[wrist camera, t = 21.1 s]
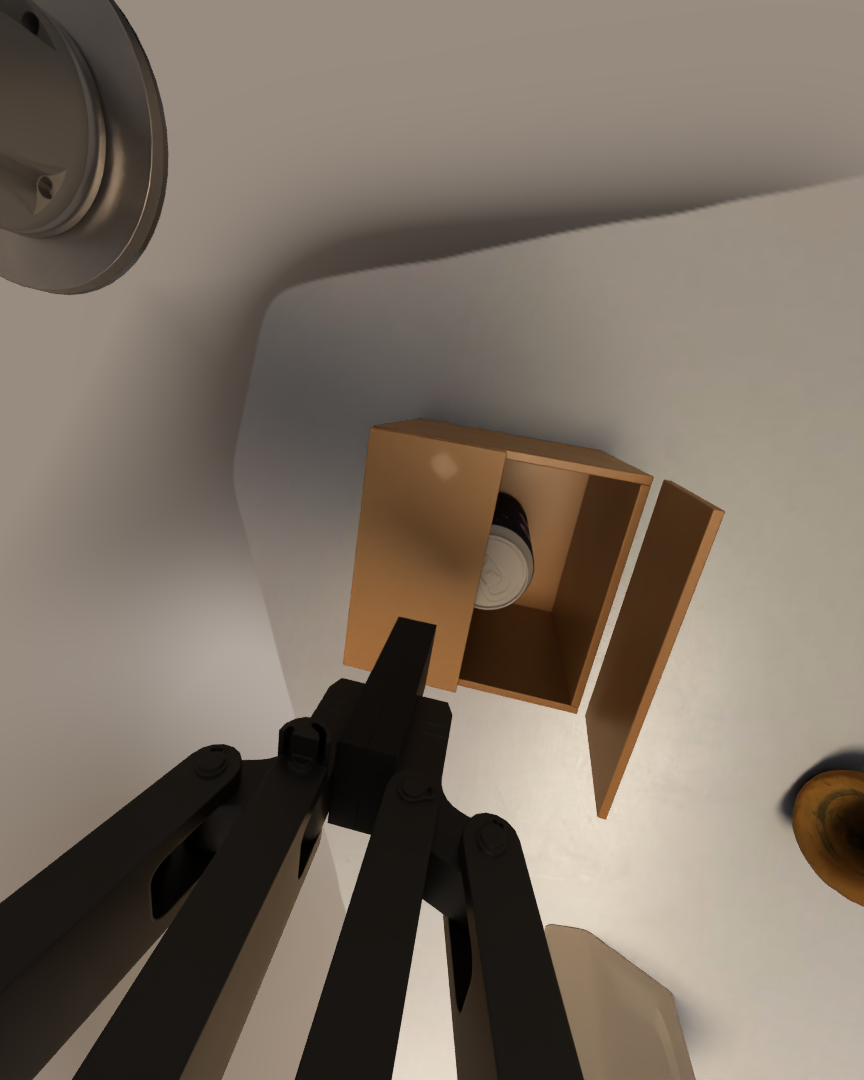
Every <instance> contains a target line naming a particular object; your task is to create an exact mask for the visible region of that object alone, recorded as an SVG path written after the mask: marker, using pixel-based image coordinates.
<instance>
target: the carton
mask: <svg viewBox="0 0 864 1080" xmlns="http://www.w3.org/2000/svg"><path fill="white" fill-rule="evenodd" d="M373 427H375V428H381V429H386V430H392V431H397V432H403V433H408V434H413V435H419V436H424V437H430V438H435V439H441V440H446V441H452V442H457V443H462V444H468V445H473V446H479V447H484V448H490V449H495V450H500V451H506V452H507V456H506V460H505V465H504V470H503V474H502V479H501V483H500V488H499V493H503V494H506V495H508V496H510V497H512V498H514V499H515V500H516V501H517V502H518V503H519V504H520V505H521V506H522V507H523V509H524V511H525V513H526V516H527V520H528V526H529V532H530V538H531V545H532V551H533V557H534V574H533V578H532V580H531V583H530V585H529V586H528V588H527V589H526V591H525V592H524V593H523V594H522V595H521V596H520V597H519V598H518V599H517V600H516V601H514V602H513V603H512V604H510V605H508V606H506V607H503V608H500V609H495V610H484V609H479V608H475V607H474V609H473V614H472V619H471V623H470V628H469V633H468V637H467V642H466V647H465V651H464V656H463V660H462V665H461V670H460V674H459V679H458V684H457V685H460V686H464V687H468V688H472V689H476V690H480V691H484V692H489V693H493V694H497V695H501V696H505V697H509V698H513V699H517V700H522V701H526V702H530V703H534V704H538V705H542V706H546V707H550V708H555V709H559V710H563V711H567V712H571V713H575V714H577V711H578V708H579V705H580V702H581V699H582V696H583V693H584V690H585V687H586V683H587V680H588V677H589V674H590V671H591V668H592V665H593V662H594V659H595V656H596V653H597V650H598V647H599V644H600V640H601V637H602V634H603V631H604V628H605V625H606V622H607V619H608V616H609V613H610V610H611V607H612V604H613V601H614V597H615V594H616V591H617V588H618V585H619V582H620V579H621V576H622V573H623V570H624V567H625V564H626V561H627V558H628V554H629V551H630V548H631V545H632V542H633V539H634V536H635V533H636V530H637V527H638V524H639V521H640V518H641V515H642V511H643V508H644V505H645V502H646V499H647V496H648V493H649V490H650V486H651V484H652V481H653V478H654V477H653V476H651V475H649V474H647V473H645V472H643V471H641V470H639V469H637V468H635V467H633V466H631V465H629V464H627V463H625V462H623V461H621V460H619V459H617V458H615V457H613V456H611V455H609V454H607V453H605V452H603V451H601V450H595V449H590V448H584V447H578V446H573V445H567V444H562V443H556V442H550V441H545V440H539V439H534V438H528V437H522V436H517V435H511V434H506V433H500V432H494V431H489V430H483V429H478V428H472V427H466V426H461V425H455V424H450V423H444V422H438V421H433V420H427V419H422V418H419V419H412V420H406V421H400V422H393V423H387V424H380V425H374V426H373ZM724 513H725V511H724V510H722V509H720V508H718V507H717V506H715V505H713V504H711V503H709V502H708V501H706V500H704V499H702V498H701V497H699V496H697V495H695V494H694V493H692V492H690V491H688V490H687V489H685V488H683V487H681V486H679V485H678V484H676V483H674V482H672V481H669V480H664V481H663V484H662V487H661V490H660V493H659V496H658V499H657V502H656V505H655V508H654V511H653V514H652V517H651V520H650V523H649V526H648V529H647V532H646V535H645V538H644V541H643V544H642V547H641V550H640V553H639V556H638V559H637V562H636V565H635V568H634V571H633V574H632V577H631V580H630V583H629V586H628V589H627V592H626V595H625V598H624V601H623V604H622V607H621V610H620V613H619V616H618V619H617V622H616V625H615V628H614V631H613V634H612V637H611V640H610V643H609V646H608V649H607V652H606V655H605V658H604V661H603V664H602V667H601V670H600V673H599V676H598V679H597V682H596V685H595V688H594V691H593V694H592V697H591V700H590V703H589V706H588V709H587V712H586V715H585V717H586V725H587V734H588V742H589V750H590V759H591V767H592V775H593V784H594V792H595V800H596V809H597V816H598V817H599V818H602V819H606V818H607V815H608V813H609V810H610V808H611V805H612V802H613V800H614V797H615V795H616V792H617V789H618V787H619V784H620V782H621V779H622V777H623V774H624V771H625V769H626V766H627V764H628V761H629V758H630V756H631V753H632V751H633V748H634V746H635V743H636V740H637V738H638V735H639V733H640V730H641V728H642V725H643V722H644V720H645V717H646V715H647V712H648V709H649V707H650V704H651V702H652V699H653V697H654V694H655V691H656V689H657V686H658V684H659V681H660V679H661V676H662V673H663V671H664V668H665V666H666V663H667V660H668V658H669V655H670V653H671V650H672V648H673V645H674V642H675V640H676V637H677V635H678V632H679V629H680V627H681V624H682V622H683V619H684V617H685V614H686V611H687V609H688V606H689V604H690V601H691V599H692V596H693V593H694V591H695V588H696V586H697V583H698V580H699V578H700V575H701V573H702V570H703V568H704V565H705V562H706V560H707V557H708V555H709V552H710V550H711V547H712V544H713V542H714V539H715V537H716V534H717V531H718V529H719V526H720V524H721V521H722V519H723V516H724Z"/></svg>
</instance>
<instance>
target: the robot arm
mask: <svg viewBox="0 0 864 1080" xmlns="http://www.w3.org/2000/svg"><path fill="white" fill-rule="evenodd" d="M105 155H106V133H105V123H104V117H103V110H102V106H101V102H100V98H99V94H98V91H97V88H96V85H95V82H94V80H93V77H92V74H91V72H90V70H89V68H88V66H87V63H86V61H85V60H84V58H83V56H82V54H81V52H80V51H79V49H78V48H77V46H76V45H75V43H74V41H73V40H72V39H71V37H70V36H69V35H68V34H67V32H66V31H65V30H64V29H63V28H62V27H61V25H60V24H59V23H58V22H57V21H56V20H55V19H53V18H52V17H51V16H50V15H49V14H48V13H47V12H46V11H44V10H43V9H42V8H41V7H40V6H39V5H37V4H36V3H35V2H34V1H33V0H0V228H2V229H5V230H7V231H10V232H13V233H16V234H19V235H22V236H27V237H33V238H46V237H52V236H55V235H58V234H61V233H63V232H65V231H67V230H69V229H70V228H72V227H73V226H74V225H75V224H77V223H78V222H79V221H80V220H81V219H82V218H83V216H84V215H85V214H86V213H87V211H88V210H89V208H90V207H91V205H92V203H93V201H94V199H95V197H96V195H97V192H98V190H99V187H100V183H101V180H102V176H103V171H104V165H105ZM436 627H437V625H435V624H430V623H426V622H422V621H417V620H413V619H408V618H404V617H398V619H397V621H396V623H395V625H394V627H393V629H392V631H391V633H390V635H389V637H388V639H387V641H386V643H385V645H384V647H383V649H382V651H381V653H380V655H379V657H378V659H377V661H376V663H375V665H374V667H373V669H372V671H371V673H370V675H369V678H368V680H367V682H366V684H364V683H360V682H356V681H352V680H348V679H344V678H341V679H340V680H338V681H337V682H335V683H334V684H332V685H331V686H330V687H329V688H328V690H327V692H326V693H325V695H324V697H323V699H322V700H321V702H320V703H319V705H318V706H317V709H316V710H315V711H314V713H313V715H312V716H311V718H310V717H303V718H297V719H294V720H292V721H290V722H288V723H286V724H285V725H284V726H283V727H282V728H281V729H280V730H279V743H278V756H277V757H273V758H270V759H262V760H242V759H241V755H240V753H239V752H238V751H237V750H236V749H235V748H234V747H231V746H228V745H224V744H219V745H210V746H207V747H203V748H201V749H199V750H198V751H196V752H194V753H192V754H191V755H190V756H188V757H187V758H186V759H185V760H183V761H182V762H181V763H179V764H178V765H177V766H176V767H174V768H173V769H172V770H171V771H169V772H168V773H167V774H165V775H164V776H163V777H162V778H160V779H159V780H158V781H157V782H155V783H154V784H153V785H151V786H150V787H149V788H148V789H146V790H145V791H144V792H142V793H141V794H140V795H138V796H137V797H136V798H135V799H133V800H132V801H131V802H130V803H128V804H127V805H126V806H124V807H123V808H122V809H121V810H119V811H118V812H117V813H115V814H114V815H113V816H112V817H110V818H109V819H108V820H107V821H105V822H104V823H103V824H101V825H100V826H99V827H97V828H96V829H95V830H94V831H92V832H91V833H90V834H88V835H87V836H86V837H85V838H83V839H82V840H81V841H79V842H78V843H77V844H76V845H74V846H73V847H72V848H70V850H68V851H67V852H66V853H64V854H63V855H62V856H60V857H59V858H58V859H57V860H55V861H54V862H53V863H51V864H50V865H49V866H48V867H46V868H45V869H44V870H43V871H41V872H40V873H38V874H37V875H36V876H35V877H33V878H32V879H31V880H29V881H28V882H27V883H26V884H24V885H23V886H22V887H20V888H19V889H18V890H17V891H15V892H14V893H13V894H12V895H10V896H9V897H8V898H6V899H5V900H4V901H3V902H1V903H0V1080H33V1078H34V1077H35V1076H36V1075H37V1074H38V1073H39V1072H40V1071H41V1069H42V1068H43V1067H44V1066H45V1065H46V1064H47V1063H48V1062H49V1060H50V1059H51V1058H52V1057H53V1056H54V1055H55V1054H56V1053H57V1051H58V1050H59V1049H60V1048H61V1047H62V1046H63V1045H64V1044H65V1043H66V1041H67V1040H68V1039H69V1038H70V1037H71V1036H72V1034H73V1033H74V1032H75V1031H76V1030H77V1029H78V1028H79V1027H80V1026H81V1024H82V1023H83V1022H84V1021H85V1020H86V1019H87V1018H88V1017H89V1016H90V1014H91V1013H92V1012H93V1011H94V1010H95V1009H96V1008H97V1006H98V1005H99V1004H100V1003H101V1002H102V1001H103V1000H104V999H105V998H106V997H107V995H108V994H109V993H110V992H111V991H112V990H113V989H114V987H115V986H116V985H117V984H118V983H119V982H120V981H121V980H122V979H123V977H124V976H125V975H126V974H127V973H128V972H129V971H130V970H131V968H132V967H133V966H134V965H135V964H136V963H137V961H139V959H140V958H141V957H142V956H143V955H144V954H145V953H146V952H147V950H148V949H149V948H150V947H151V946H152V945H153V944H154V943H155V941H156V940H157V939H158V938H159V937H160V936H161V935H162V934H163V933H164V931H165V930H166V929H167V928H168V927H169V928H168V929H167V931H166V932H165V934H164V936H163V937H162V939H161V940H160V942H159V943H158V945H157V947H156V948H155V950H154V951H153V953H152V954H151V956H150V958H149V959H148V961H147V962H146V964H145V965H144V967H143V969H142V970H141V972H140V973H139V975H138V977H137V978H136V980H135V981H134V983H133V984H132V986H131V987H130V989H129V991H128V992H127V994H126V995H125V997H124V998H123V1000H122V1002H121V1003H120V1005H119V1006H118V1008H117V1009H116V1011H115V1013H114V1014H113V1016H112V1017H111V1019H110V1021H109V1022H108V1024H107V1025H106V1027H105V1028H104V1030H103V1031H102V1033H101V1035H100V1036H99V1038H98V1039H97V1041H96V1043H95V1044H94V1046H93V1047H92V1049H91V1050H90V1052H89V1053H88V1055H87V1057H86V1058H85V1060H84V1061H83V1063H82V1064H81V1066H80V1068H79V1069H78V1071H77V1072H76V1074H75V1076H74V1077H73V1079H72V1080H221V1079H222V1077H223V1075H224V1072H225V1070H226V1067H227V1065H228V1062H229V1060H230V1058H231V1055H232V1053H233V1051H234V1048H235V1046H236V1043H237V1041H238V1038H239V1036H240V1033H241V1031H242V1029H243V1026H244V1024H245V1022H246V1019H247V1017H248V1014H249V1012H250V1010H251V1007H252V1004H253V1002H254V1000H255V998H256V995H257V993H258V990H259V988H260V985H261V983H262V981H263V978H264V976H265V973H266V971H267V969H268V966H269V964H270V962H271V959H272V957H273V954H274V952H275V950H276V947H277V944H278V942H279V940H280V937H281V935H282V933H283V930H284V928H285V925H286V923H287V920H288V918H289V916H290V913H291V911H292V909H293V906H294V903H295V901H296V899H297V896H298V894H299V892H300V889H301V887H302V885H303V882H304V880H305V877H306V875H307V873H308V870H309V868H310V865H311V863H312V861H313V858H314V856H315V853H316V851H317V848H318V846H319V843H320V839H321V832H322V826H323V824H324V821H325V819H326V817H327V814H328V812H329V816H328V823H330V824H334V825H337V826H341V827H344V828H348V829H352V830H355V831H359V832H362V833H366V834H370V835H371V837H370V840H369V843H368V846H367V850H366V853H365V856H364V859H363V862H362V866H361V869H360V872H359V875H358V878H357V882H356V885H355V888H354V891H353V894H352V898H351V901H350V904H349V907H348V910H347V914H346V917H345V920H344V923H343V926H342V930H341V933H340V936H339V940H338V942H337V946H336V949H335V952H334V955H333V959H332V962H331V965H330V968H329V972H328V975H327V978H326V981H325V984H324V987H323V991H322V994H321V997H320V1000H319V1003H318V1007H317V1010H316V1013H315V1017H314V1020H313V1023H312V1026H311V1029H310V1032H309V1035H308V1039H307V1042H306V1045H305V1048H304V1051H303V1055H302V1058H301V1061H300V1064H299V1068H298V1071H297V1074H296V1078H295V1080H391V1079H392V1074H393V1068H394V1062H395V1056H396V1050H397V1044H398V1038H399V1032H400V1026H401V1021H402V1015H403V1009H404V1003H405V997H406V991H407V985H408V979H409V973H410V967H411V962H412V956H413V950H414V944H415V938H416V932H417V926H418V920H419V914H420V909H421V903H422V899H423V900H425V901H426V902H428V903H429V904H430V905H432V906H433V907H434V908H436V909H437V910H438V911H440V912H441V913H442V914H443V919H444V931H445V942H446V953H447V965H448V976H449V987H450V999H451V1010H452V1022H453V1033H454V1044H455V1056H456V1067H457V1078H458V1080H584V1077H583V1074H582V1070H581V1066H580V1062H579V1059H578V1055H577V1051H576V1048H575V1044H574V1040H573V1036H572V1033H571V1029H570V1025H569V1022H568V1018H567V1014H566V1010H565V1007H564V1003H563V999H562V996H561V992H560V988H559V984H558V981H557V977H556V973H555V970H554V966H553V962H552V958H551V955H550V951H549V947H548V944H547V940H546V936H545V932H544V929H543V925H542V921H541V918H540V914H539V910H538V906H537V903H536V899H535V895H534V892H533V888H532V884H531V880H530V877H529V873H528V869H527V866H526V862H525V858H524V854H523V851H522V847H521V843H520V840H519V838H518V836H517V834H516V831H515V830H514V829H513V828H512V826H511V825H510V824H509V823H508V822H507V821H506V820H504V819H502V818H501V817H499V816H497V815H494V814H489V813H481V814H476V815H474V816H473V817H471V818H470V817H468V816H466V815H465V814H463V813H462V812H460V811H459V810H457V809H456V808H455V807H453V806H452V805H451V804H450V802H449V801H448V800H447V799H446V797H445V795H444V793H443V789H442V786H441V785H442V774H443V768H444V762H445V756H446V750H447V744H448V738H449V732H450V726H451V720H452V713H451V710H450V707H449V705H448V703H447V702H443V701H439V700H435V699H431V698H427V697H422V696H423V692H424V689H425V685H426V680H427V675H428V669H429V664H430V659H431V653H432V648H433V643H434V637H435V632H436Z"/></svg>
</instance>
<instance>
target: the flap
mask: <svg viewBox="0 0 864 1080" xmlns="http://www.w3.org/2000/svg"><path fill="white" fill-rule="evenodd" d="M506 456H507V452H506V451H500V450H495V449H490V448H484V447H479V446H473V445H468V444H462V443H457V442H452V441H446V440H441V439H435V438H430V437H424V436H419V435H413V434H408V433H403V432H397V431H392V430H386V429H381V428H375V427H370V433H369V441H368V450H367V459H366V468H365V476H364V485H363V494H362V503H361V511H360V520H359V529H358V538H357V546H356V555H355V564H354V573H353V581H352V590H351V599H350V608H349V616H348V625H347V634H346V643H345V651H344V660H343V664H344V665H347V666H351V667H355V668H359V669H363V670H367V671H372V669H373V667H374V665H375V663H376V661H377V659H378V657H379V655H380V653H381V651H382V649H383V647H384V645H385V643H386V641H387V639H388V637H389V635H390V633H391V631H392V629H393V627H394V625H395V623H396V621H397V619H398V617H404V618H408V619H413V620H417V621H422V622H426V623H430V624H435V625H437V627H436V632H435V637H434V643H433V648H432V653H431V659H430V664H429V669H428V675H427V680H426V685H427V686H431V687H435V688H439V689H443V690H447V691H451V692H456V688H457V684H458V679H459V674H460V670H461V665H462V660H463V656H464V651H465V647H466V642H467V637H468V633H469V628H470V623H471V619H472V614H473V609H474V605H475V600H476V595H477V591H478V586H479V581H480V577H481V572H482V567H483V563H484V558H485V553H486V549H487V544H488V539H489V535H490V530H491V525H492V521H493V516H494V511H495V507H496V502H497V497H498V493H499V488H500V483H501V479H502V474H503V470H504V465H505V460H506Z"/></svg>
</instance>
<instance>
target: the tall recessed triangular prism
mask: <svg viewBox="0 0 864 1080" xmlns="http://www.w3.org/2000/svg"><path fill="white" fill-rule="evenodd" d="M545 936H546V940H547V944H548V947H549V951H550V955H551V958H552V962H553V966H554V970H555V973H556V977H557V981H558V984H559V988H560V992H561V996H562V999H563V1003H564V1007H565V1010H566V1014H567V1018H568V1022H569V1025H570V1029H571V1033H572V1036H573V1040H574V1044H575V1048H576V1051H577V1055H578V1059H579V1062H580V1066H581V1070H582V1074H583V1077H584V1080H696V1079H695V1076H694V1072H693V1068H692V1065H691V1061H690V1058H689V1054H688V1051H687V1047H686V1043H685V1040H684V1036H683V1033H682V1029H681V1025H680V1022H679V1018H678V1015H677V1011H676V1007H675V1004H674V1000H673V997H672V994H671V993H670V992H669V991H668V990H667V989H666V988H664V987H663V986H662V985H660V984H659V983H658V982H656V981H655V980H653V979H652V978H651V977H649V976H648V975H647V974H645V973H644V972H643V971H641V970H640V969H638V968H637V967H636V966H634V965H633V964H632V963H630V962H629V961H628V960H626V959H625V958H624V957H622V956H621V955H619V954H618V953H617V952H615V951H614V950H613V949H611V948H610V947H609V946H607V945H606V944H605V943H603V942H602V941H600V940H599V939H598V938H596V937H595V936H594V935H592V934H591V933H589V932H588V931H585V930H582V929H576V928H570V927H564V926H558V925H548V926H546V928H545Z"/></svg>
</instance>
